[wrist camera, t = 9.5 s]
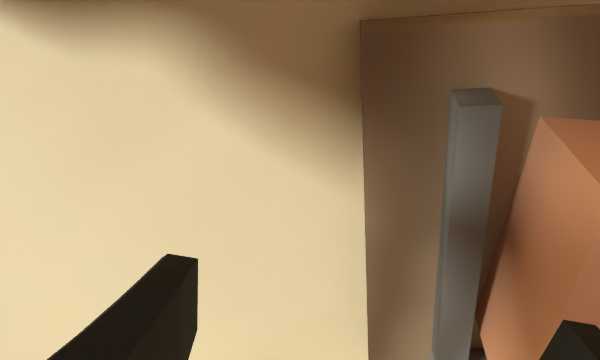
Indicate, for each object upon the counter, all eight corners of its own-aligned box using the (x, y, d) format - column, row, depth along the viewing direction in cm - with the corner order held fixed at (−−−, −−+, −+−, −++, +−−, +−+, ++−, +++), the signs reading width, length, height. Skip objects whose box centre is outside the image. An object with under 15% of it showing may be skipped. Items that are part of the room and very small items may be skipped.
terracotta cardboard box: (474, 314, 19) (507, 430, 15) (539, 116, 15) (614, 201, 11) (572, 325, 19) (634, 446, 15) (670, 126, 15) (801, 217, 10)
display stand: (368, 348, 23) (369, 402, 21) (360, 21, 15) (360, 43, 13) (673, 355, 21) (716, 416, 19) (844, -14, 13) (959, 4, 11)
